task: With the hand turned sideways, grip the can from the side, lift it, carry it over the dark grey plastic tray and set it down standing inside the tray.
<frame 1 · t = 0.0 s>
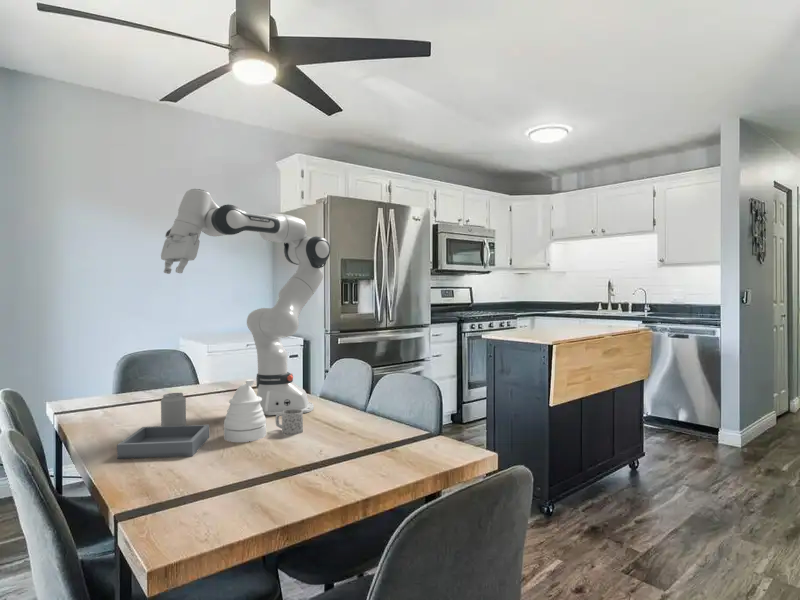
hand: (172, 273, 168), 52 cm above the table, tool tilted 20°, fingers open, 8 cm apart
mug: (288, 431, 167), on the table
can: (173, 430, 169), on the table
tray: (166, 447, 151), on the table
honey pot: (245, 436, 162), on the table
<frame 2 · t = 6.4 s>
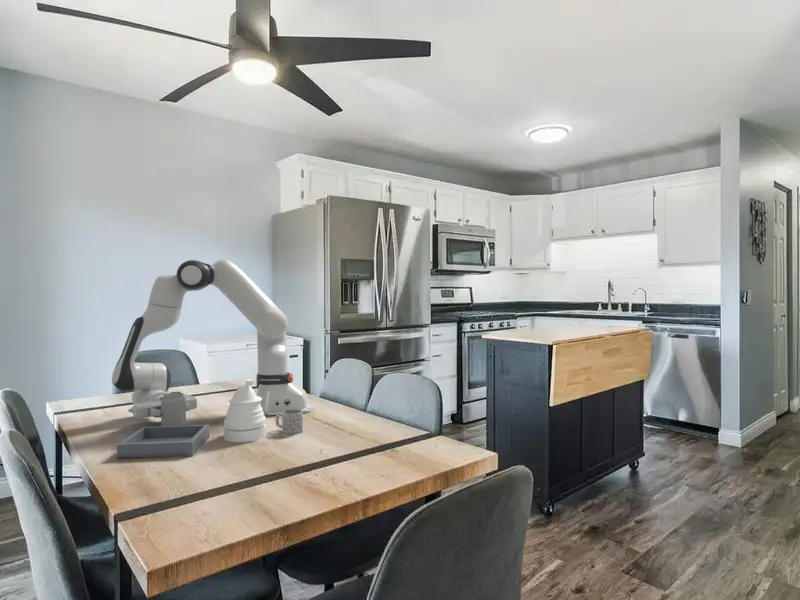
hand: (174, 410, 168), 7 cm above the table, tool horizontal, fingers closed on can, 8 cm apart
can: (173, 430, 169), on the table, touching gripper
everything else where it was.
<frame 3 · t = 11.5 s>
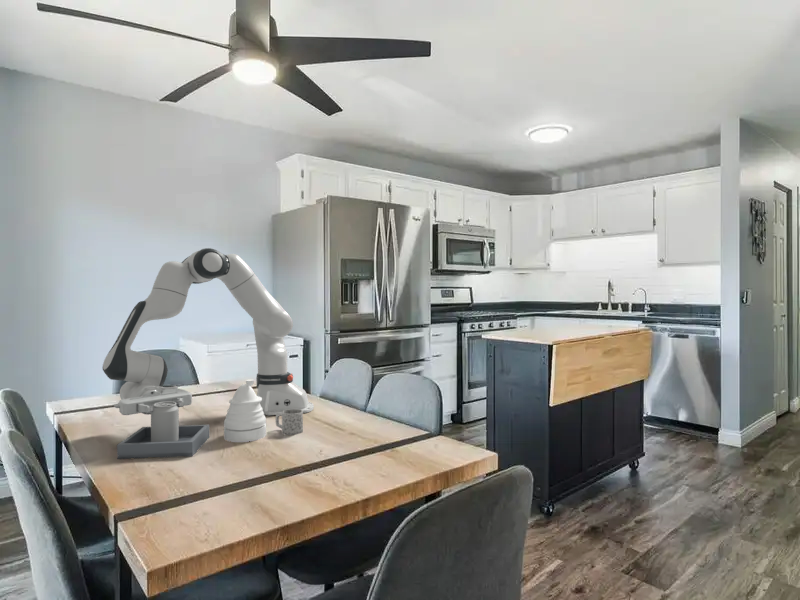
hand: (166, 406, 150), 12 cm above the table, tool horizontal, fingers closed on can, 7 cm apart
can: (164, 444, 151), point 1 cm above the table, touching gripper, tray
everything else where it was.
when the fingers open (9 cm above the table, at t = 12.9 s): can stays where it is, resting on tray.
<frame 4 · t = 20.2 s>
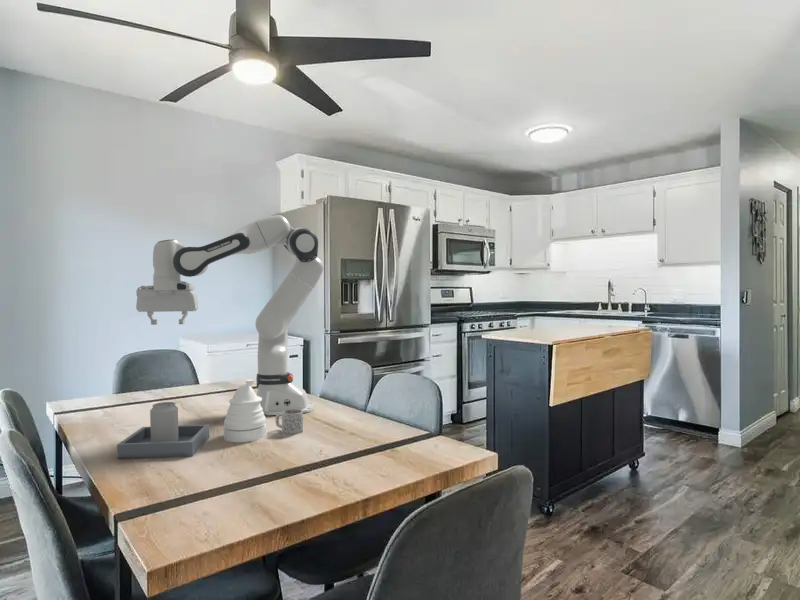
hand: (167, 324, 181), 34 cm above the table, tool pointing down, fingers open, 8 cm apart
can: (164, 444, 151), point 1 cm above the table, touching tray
everything else where it was.
at the end: can inside the target area on the tray (0.7 cm from its centre), point 0.8 cm above the tray's base; can tilted 0°; the gripper is holding nothing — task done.
